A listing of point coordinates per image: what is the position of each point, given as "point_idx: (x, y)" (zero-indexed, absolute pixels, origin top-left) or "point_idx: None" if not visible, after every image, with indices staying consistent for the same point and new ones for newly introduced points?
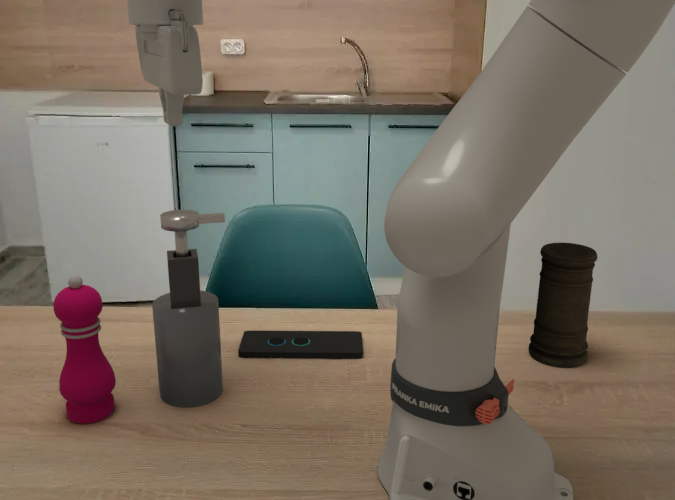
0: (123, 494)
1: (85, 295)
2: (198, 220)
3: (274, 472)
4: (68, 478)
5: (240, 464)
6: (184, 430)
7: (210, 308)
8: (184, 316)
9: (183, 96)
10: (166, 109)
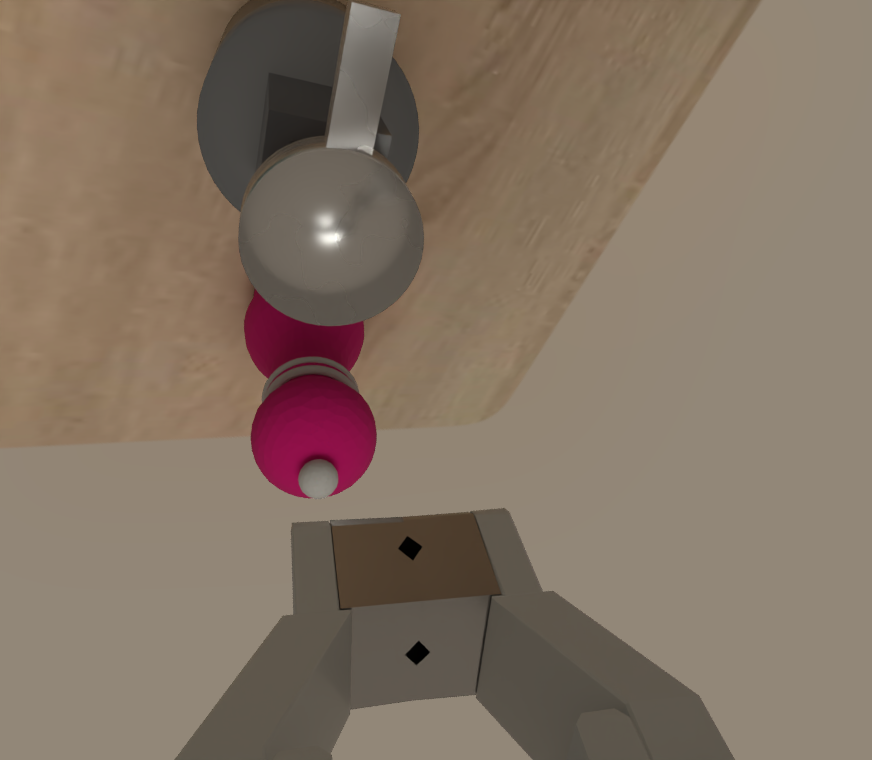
0: (587, 275)
1: (358, 442)
2: (374, 154)
3: (686, 9)
4: (502, 346)
5: (626, 65)
6: (459, 137)
7: (400, 70)
8: (413, 162)
9: (706, 720)
10: (501, 713)
